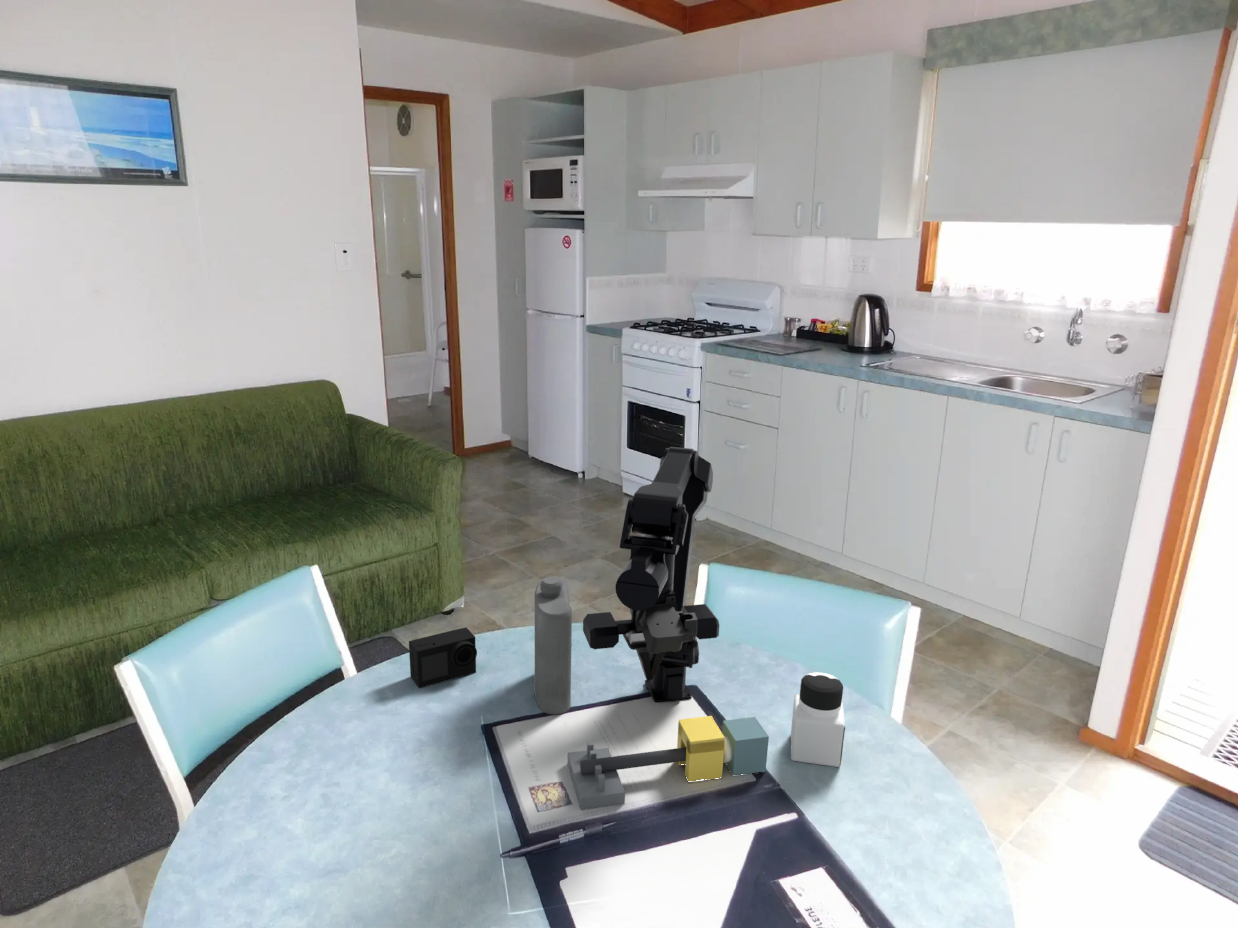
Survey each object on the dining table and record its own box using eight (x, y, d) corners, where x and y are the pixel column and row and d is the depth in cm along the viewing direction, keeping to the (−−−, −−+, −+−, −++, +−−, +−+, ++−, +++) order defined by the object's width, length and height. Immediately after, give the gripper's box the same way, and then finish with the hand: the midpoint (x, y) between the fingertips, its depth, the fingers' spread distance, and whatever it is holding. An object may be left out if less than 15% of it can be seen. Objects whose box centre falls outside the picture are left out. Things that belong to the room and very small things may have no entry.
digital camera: (420, 692, 136) (419, 654, 134) (409, 677, 140) (408, 640, 139) (479, 675, 141) (478, 639, 140) (467, 661, 146) (466, 626, 144)
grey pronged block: (567, 764, 119) (567, 740, 118) (608, 759, 120) (608, 735, 119) (580, 810, 109) (581, 785, 108) (624, 804, 111) (625, 779, 110)
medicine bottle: (840, 768, 120) (849, 695, 116) (790, 761, 121) (797, 689, 118) (838, 739, 126) (846, 670, 123) (790, 733, 128) (797, 664, 124)
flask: (534, 667, 144) (534, 562, 139) (568, 667, 145) (569, 561, 139) (534, 716, 130) (534, 600, 125) (571, 715, 131) (572, 600, 125)
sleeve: (676, 759, 120) (678, 719, 118) (708, 755, 121) (711, 715, 119) (688, 783, 115) (690, 741, 113) (721, 778, 116) (724, 737, 114)
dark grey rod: (584, 797, 112) (585, 759, 110) (577, 774, 117) (578, 737, 115) (765, 772, 118) (768, 736, 116) (752, 751, 123) (754, 716, 121)
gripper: (599, 610, 105) (597, 717, 109) (737, 599, 109) (729, 702, 114) (583, 575, 115) (581, 674, 120) (708, 566, 120) (702, 662, 124)
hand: (648, 678), depth 119 cm, fingers closed
